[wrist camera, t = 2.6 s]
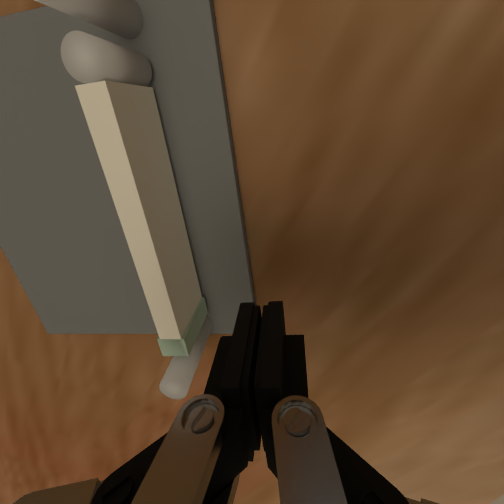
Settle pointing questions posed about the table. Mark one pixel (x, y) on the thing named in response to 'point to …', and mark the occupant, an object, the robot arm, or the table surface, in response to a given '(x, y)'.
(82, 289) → the gate base
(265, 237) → the table surface
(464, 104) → the table surface
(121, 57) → the bar
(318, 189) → the table surface
